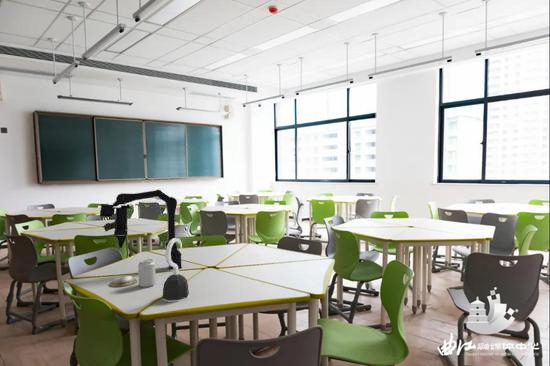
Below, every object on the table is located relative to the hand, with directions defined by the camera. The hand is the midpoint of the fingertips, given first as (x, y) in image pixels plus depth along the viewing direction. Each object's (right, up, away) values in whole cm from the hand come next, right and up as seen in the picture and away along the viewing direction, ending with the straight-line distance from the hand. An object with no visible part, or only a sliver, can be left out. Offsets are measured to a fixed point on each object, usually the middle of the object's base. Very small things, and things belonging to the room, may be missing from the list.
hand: (120, 246), depth 187 cm
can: (+22, -15, -22) cm, 34 cm away
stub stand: (+9, -15, -18) cm, 25 cm away
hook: (+40, -15, -39) cm, 58 cm away
